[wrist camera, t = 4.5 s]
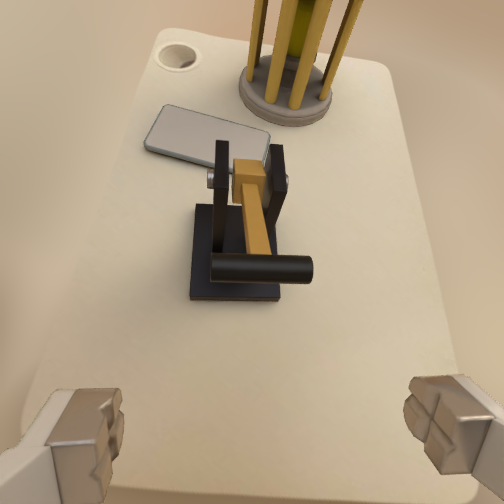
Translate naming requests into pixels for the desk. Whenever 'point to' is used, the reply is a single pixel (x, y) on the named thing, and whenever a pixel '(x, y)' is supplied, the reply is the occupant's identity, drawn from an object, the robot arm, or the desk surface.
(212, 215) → the switch bracket
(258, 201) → the lever
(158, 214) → the desk surface
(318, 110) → the lantern
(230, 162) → the smartphone
